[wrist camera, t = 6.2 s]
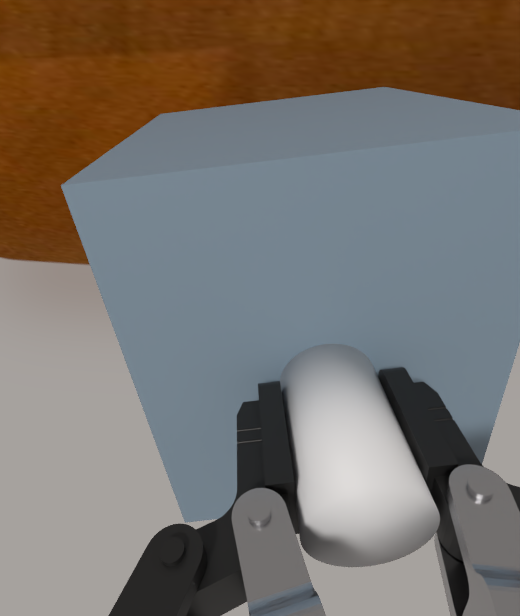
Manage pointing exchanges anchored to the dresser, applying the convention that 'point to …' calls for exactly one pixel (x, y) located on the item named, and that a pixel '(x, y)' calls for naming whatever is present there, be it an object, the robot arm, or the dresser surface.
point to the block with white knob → (312, 292)
